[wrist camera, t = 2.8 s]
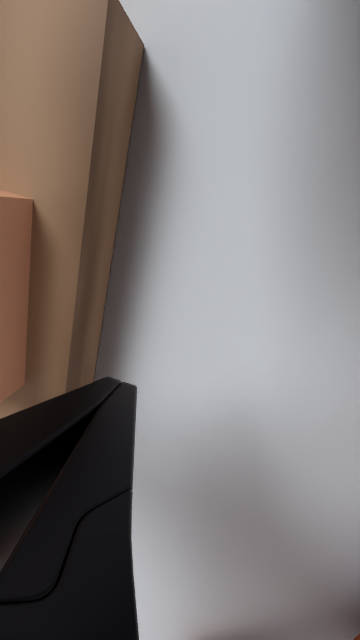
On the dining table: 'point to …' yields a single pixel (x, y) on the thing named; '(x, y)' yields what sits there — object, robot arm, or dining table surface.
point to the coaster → (14, 289)
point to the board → (66, 172)
